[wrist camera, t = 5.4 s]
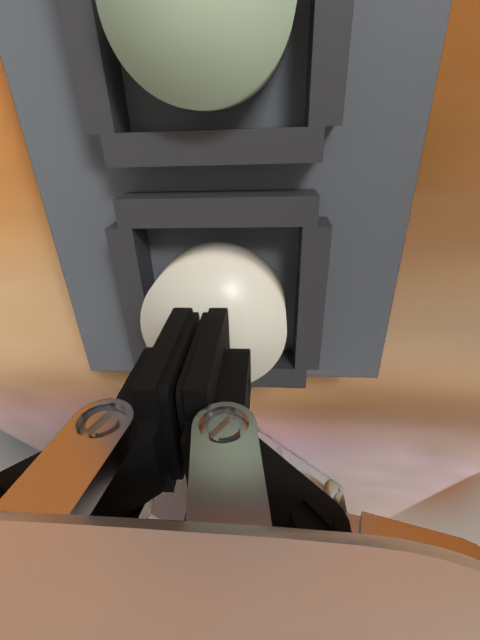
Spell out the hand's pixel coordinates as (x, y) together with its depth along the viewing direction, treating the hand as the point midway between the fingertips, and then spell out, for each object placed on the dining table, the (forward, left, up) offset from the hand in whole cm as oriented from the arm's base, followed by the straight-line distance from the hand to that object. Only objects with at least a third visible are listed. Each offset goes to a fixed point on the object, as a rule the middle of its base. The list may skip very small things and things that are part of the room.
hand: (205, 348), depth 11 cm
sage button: (0, -9, -4) cm, 10 cm away
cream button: (0, 0, -3) cm, 3 cm away
